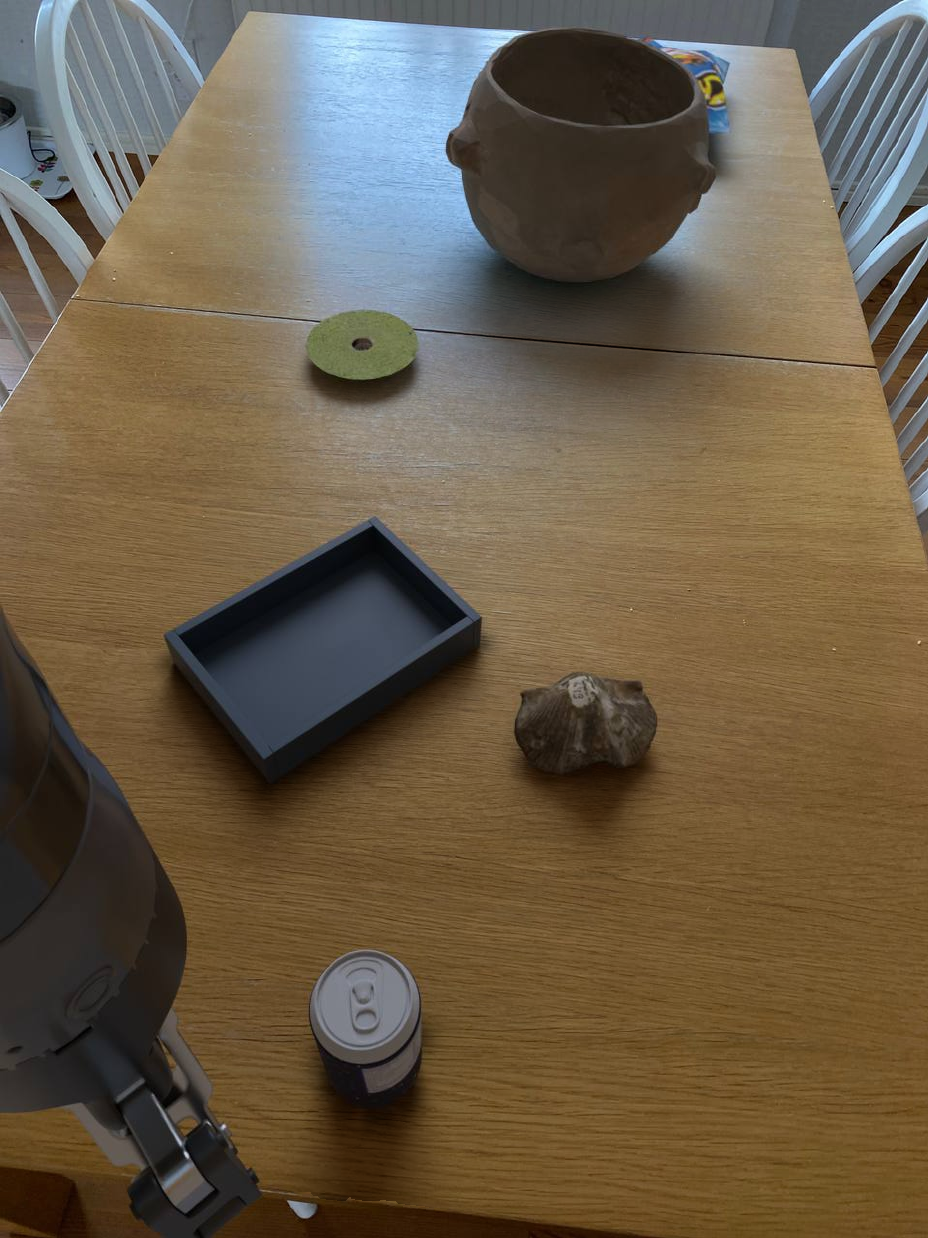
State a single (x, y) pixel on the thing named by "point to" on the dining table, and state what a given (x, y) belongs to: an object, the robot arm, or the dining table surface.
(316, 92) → the dining table surface
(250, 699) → the dark blue tray
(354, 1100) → the beverage can
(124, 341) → the dining table surface
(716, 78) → the packet
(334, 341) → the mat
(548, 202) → the bowl
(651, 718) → the fossilized seashell
